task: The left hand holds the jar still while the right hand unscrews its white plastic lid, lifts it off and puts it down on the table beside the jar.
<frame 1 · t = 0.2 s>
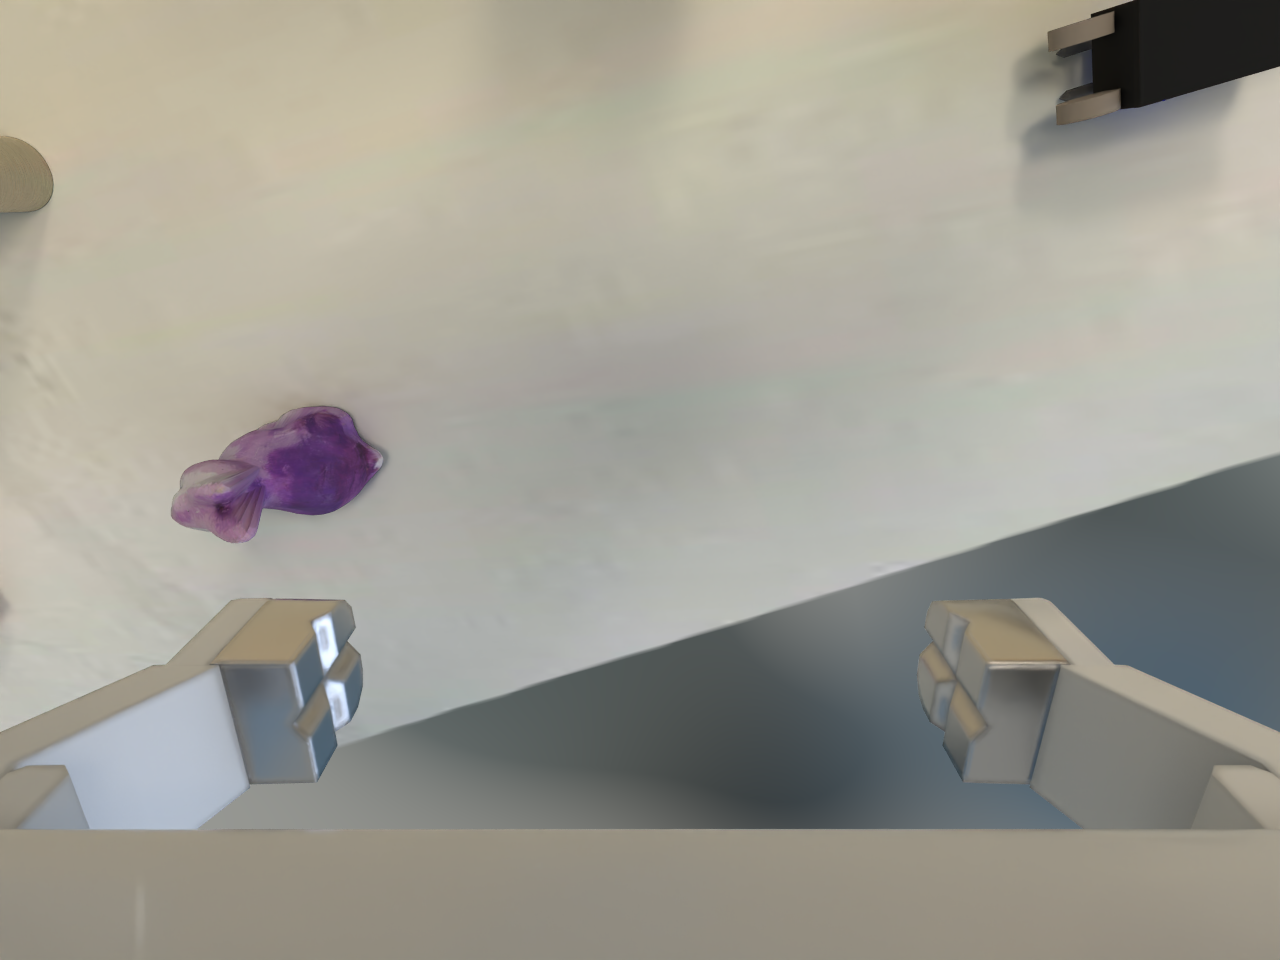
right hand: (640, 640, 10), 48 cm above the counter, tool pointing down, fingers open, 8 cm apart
figurine: (314, 453, 60), on the counter
figurine character: (1138, 52, 49), on the counter
jar: (17, 174, 52), on the counter
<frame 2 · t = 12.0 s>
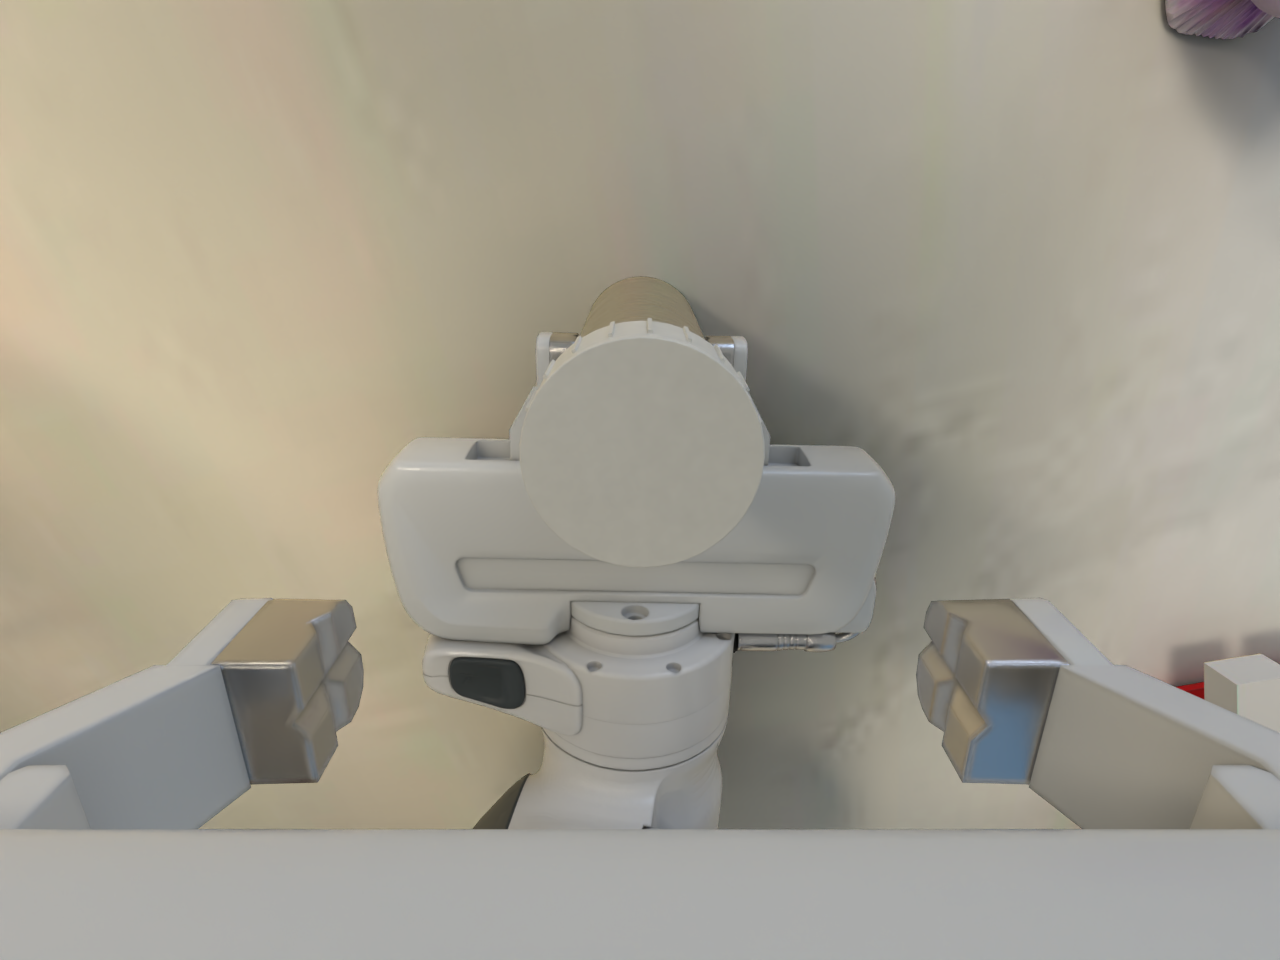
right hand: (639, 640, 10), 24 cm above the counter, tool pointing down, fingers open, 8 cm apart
left hand: (640, 336, 27), fingers closed on jar, 5 cm apart
jar: (641, 333, 33), on the counter, touching left hand
toy: (1199, 826, 44), on the counter
lid: (641, 454, 18), point 16 cm above the counter, screwed on, not yet turned
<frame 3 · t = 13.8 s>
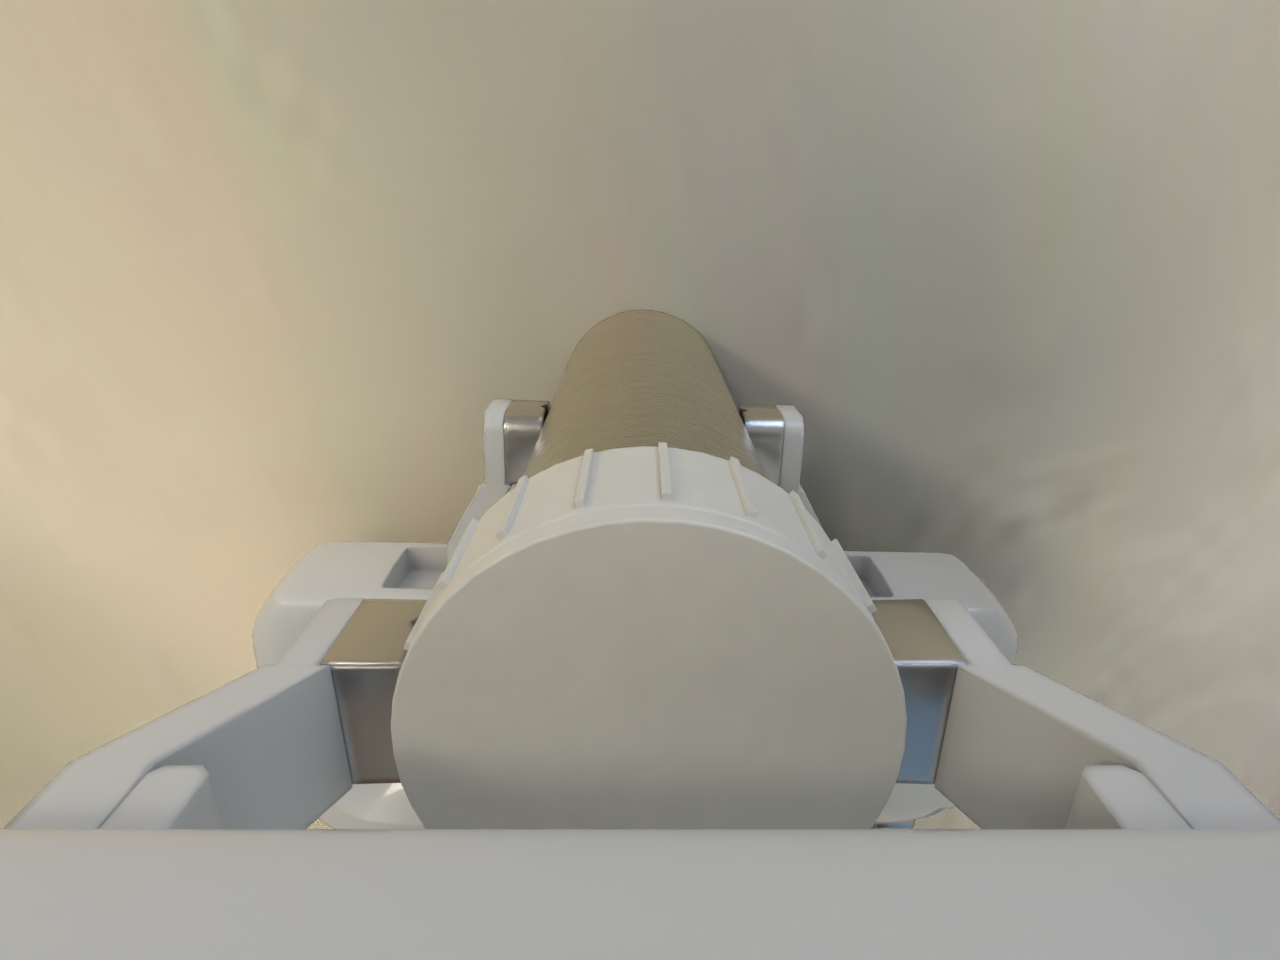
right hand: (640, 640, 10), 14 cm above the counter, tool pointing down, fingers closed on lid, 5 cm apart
jar: (642, 386, 24), on the counter, touching left hand
lid: (648, 731, 9), point 16 cm above the counter, screwed on, not yet turned, touching right hand
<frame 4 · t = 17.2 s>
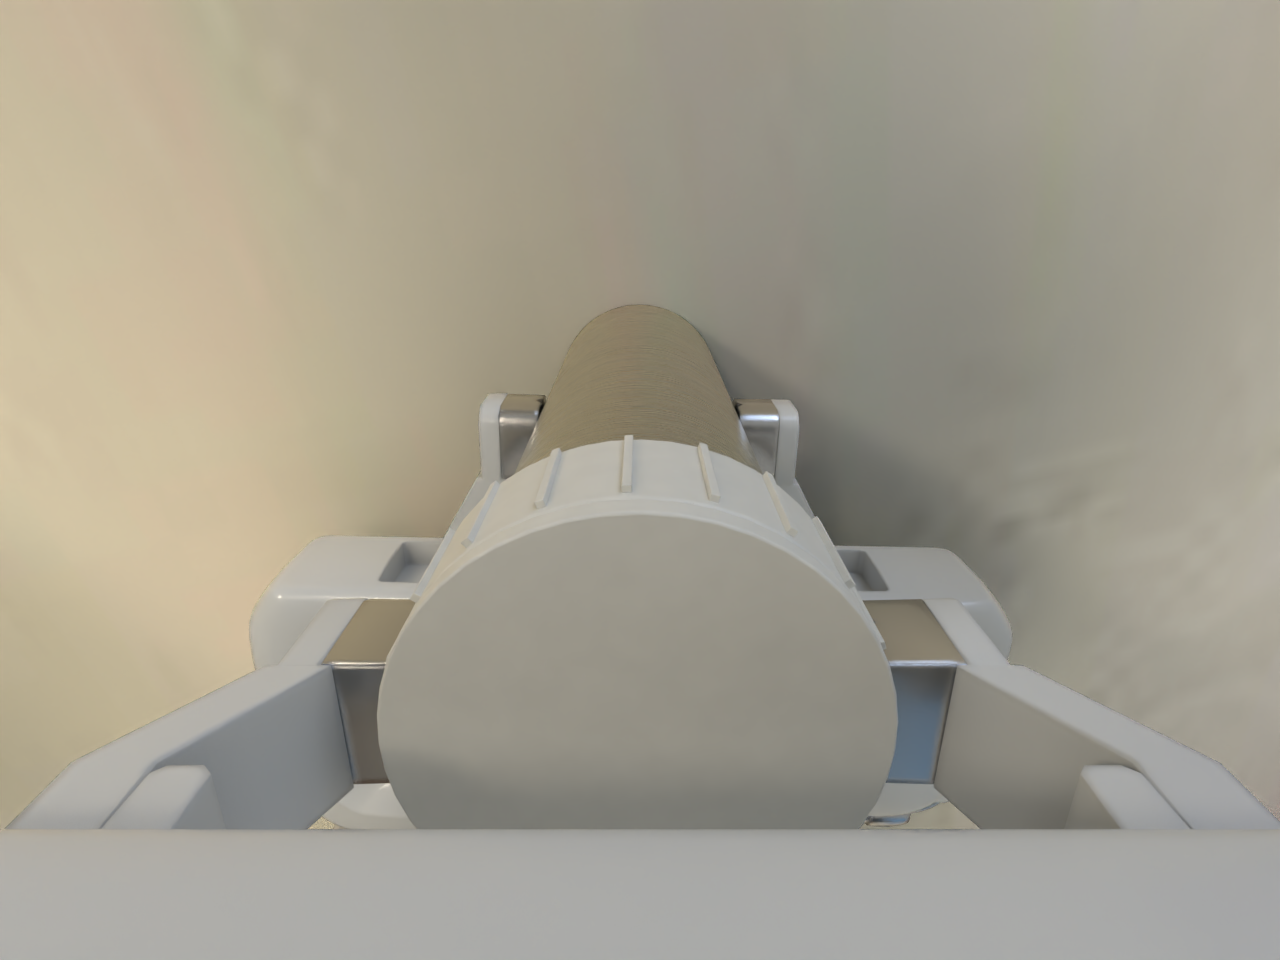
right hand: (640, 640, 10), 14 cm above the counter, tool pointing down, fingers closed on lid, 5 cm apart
jar: (639, 381, 24), on the counter, touching left hand
lid: (637, 726, 8), point 16 cm above the counter, turned 96° so far, risen 0.1 cm, still on its thread, touching right hand
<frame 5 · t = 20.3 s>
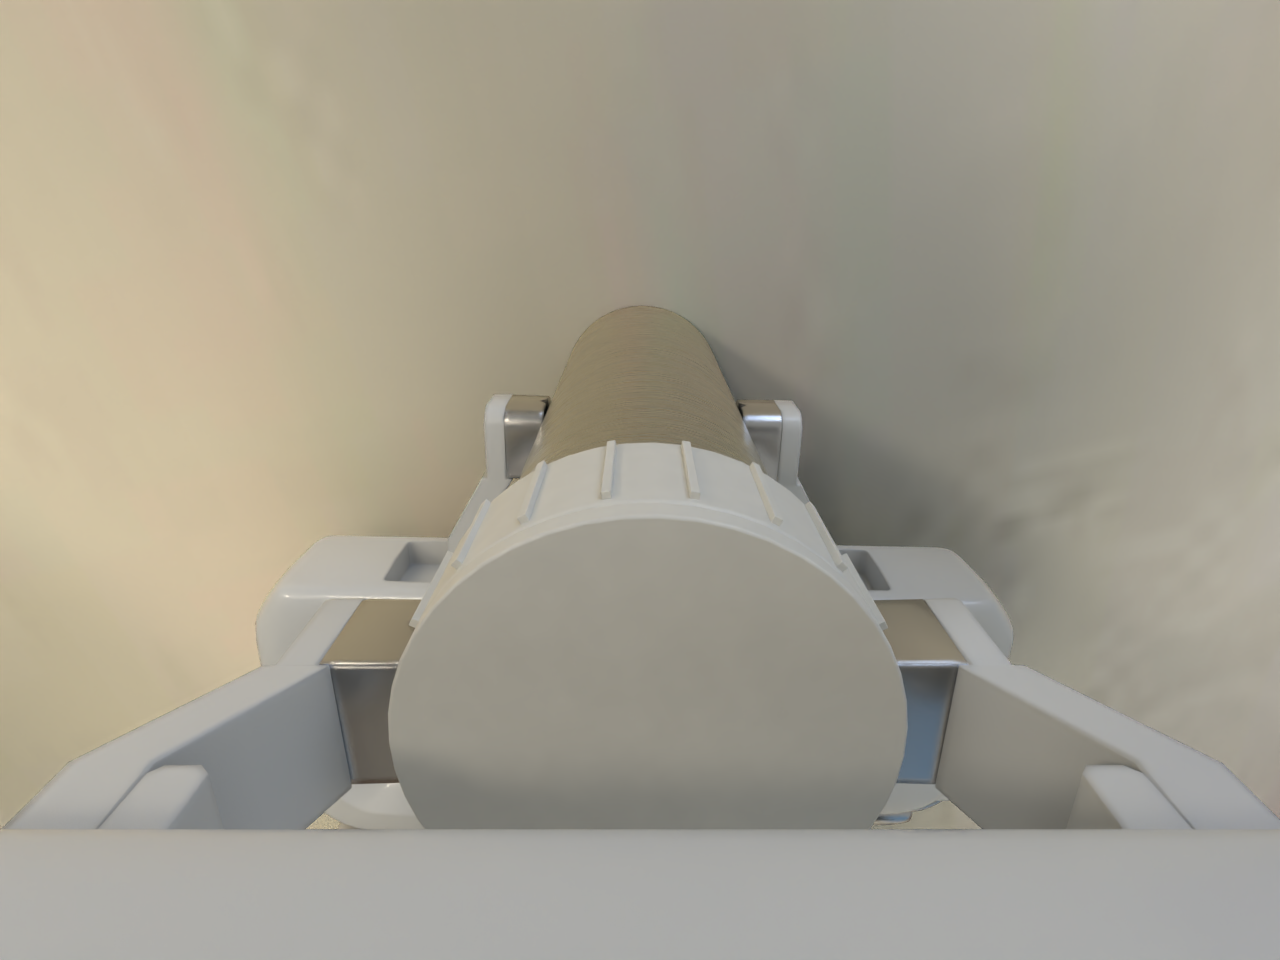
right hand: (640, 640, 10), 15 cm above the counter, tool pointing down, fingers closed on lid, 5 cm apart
jar: (641, 382, 24), on the counter, touching left hand
lid: (647, 729, 9), point 16 cm above the counter, turned 192° so far, risen 0.2 cm, still on its thread, touching right hand
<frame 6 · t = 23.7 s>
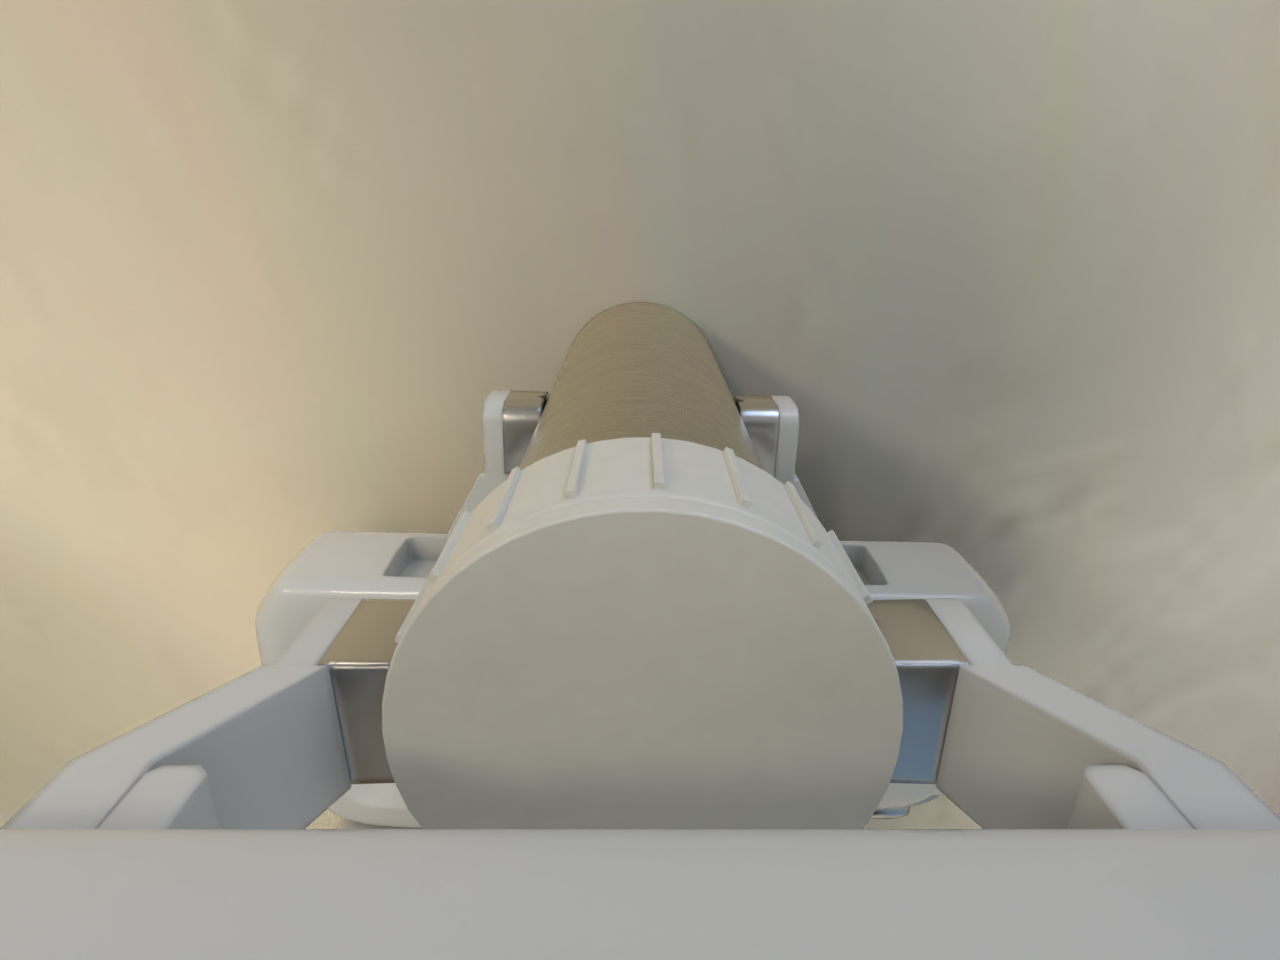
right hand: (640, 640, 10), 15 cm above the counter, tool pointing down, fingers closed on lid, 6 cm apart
jar: (640, 378, 24), on the counter, touching left hand
lid: (642, 724, 8), point 17 cm above the counter, turned 289° so far, risen 0.4 cm, still on its thread, touching right hand
when the right hand's fingers open (2 cm above the counter, at t = 30.4 s): lid drops 2 cm, point 2 cm above the counter.
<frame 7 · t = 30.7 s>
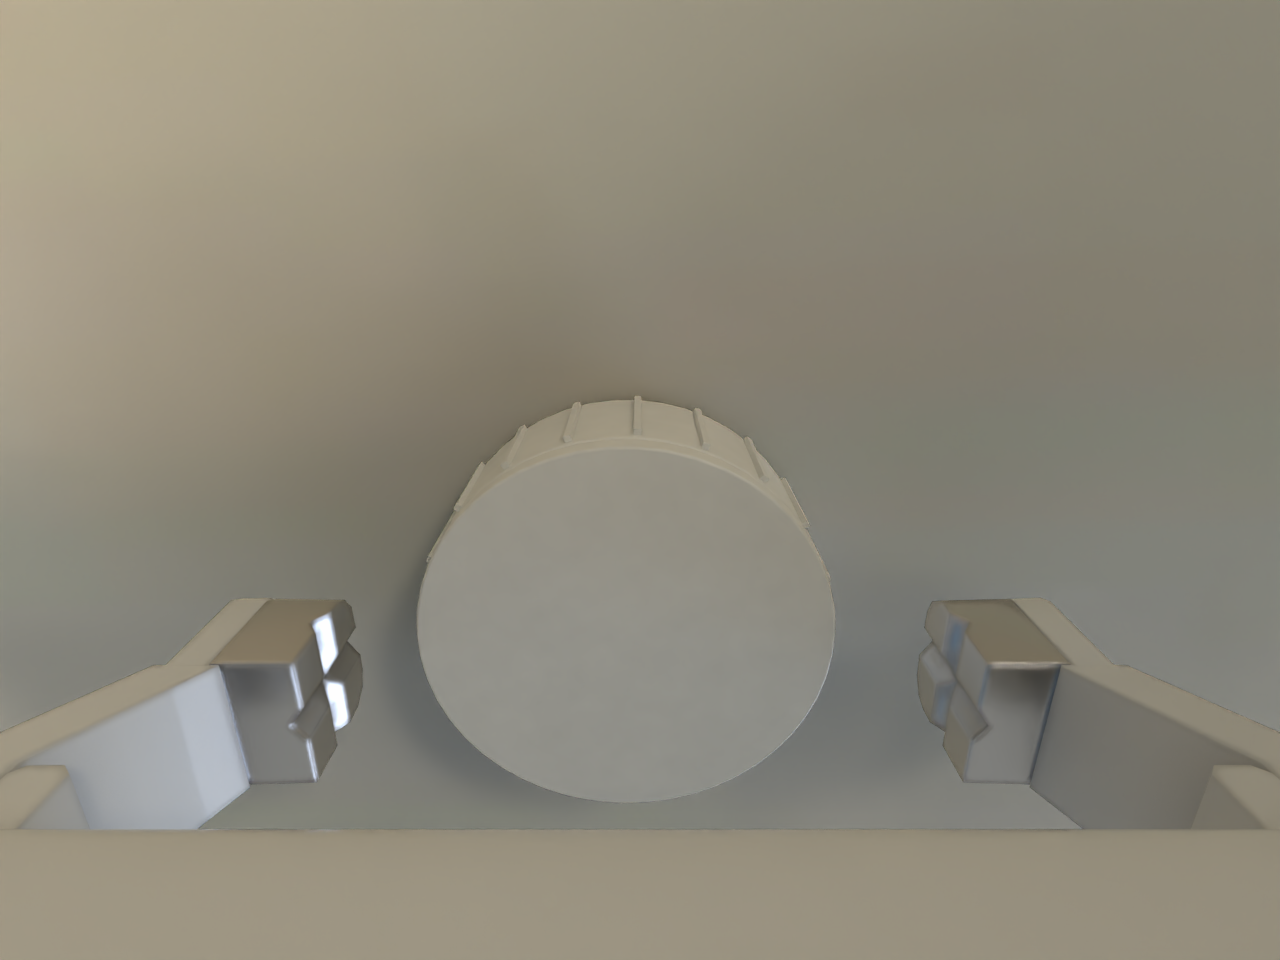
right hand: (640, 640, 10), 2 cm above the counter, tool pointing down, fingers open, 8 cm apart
lid: (626, 630, 10), point 2 cm above the counter, off its thread
when the left hand's fingers open (5 cm above the counter, at t = 31.4 s): jar stays where it is, on the counter.
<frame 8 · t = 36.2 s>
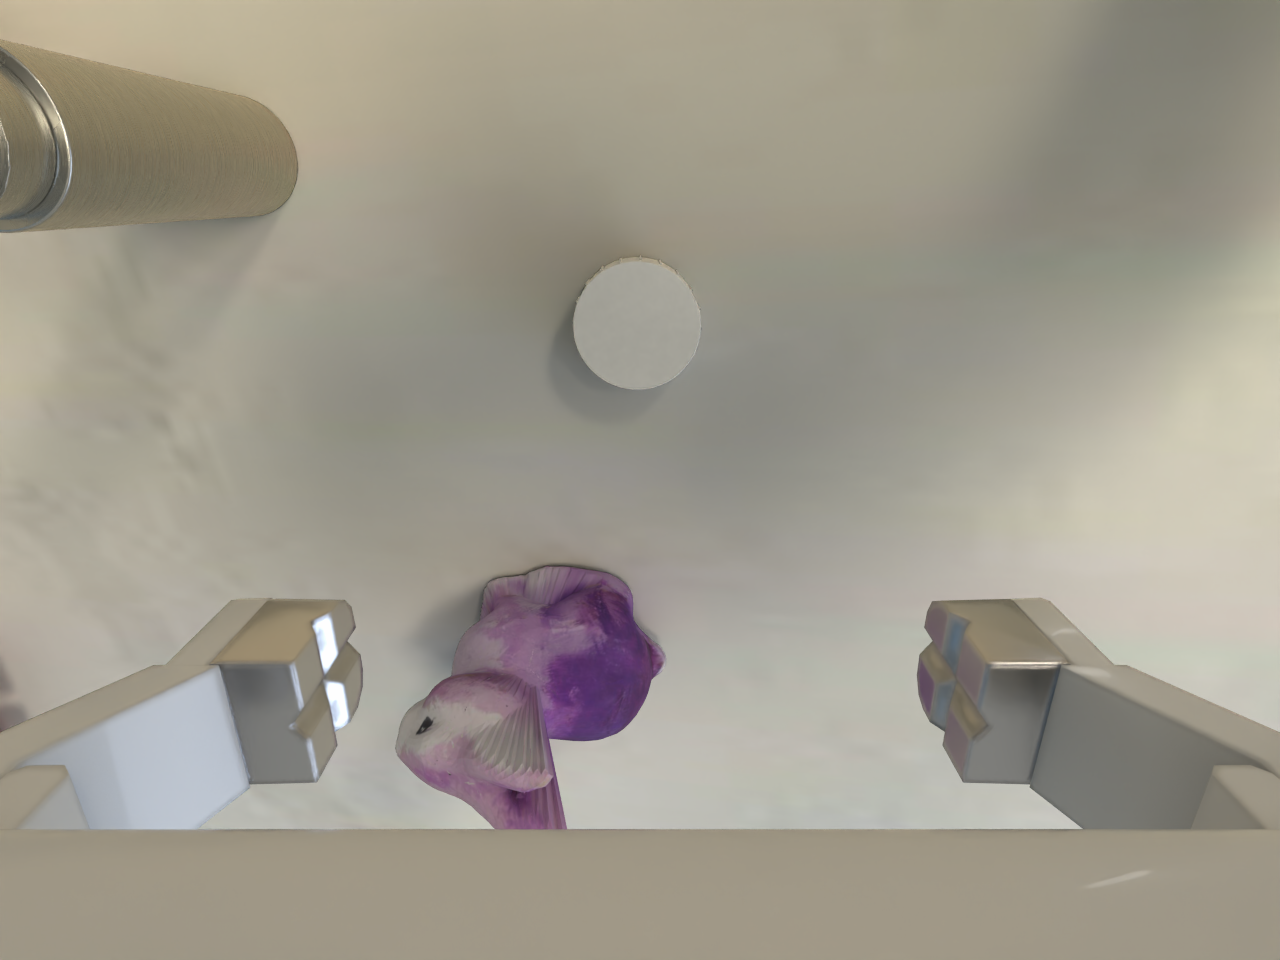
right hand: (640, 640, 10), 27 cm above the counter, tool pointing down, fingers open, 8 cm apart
figurine: (556, 623, 42), on the counter
jar: (242, 157, 33), on the counter
lid: (636, 326, 33), point 2 cm above the counter, off its thread
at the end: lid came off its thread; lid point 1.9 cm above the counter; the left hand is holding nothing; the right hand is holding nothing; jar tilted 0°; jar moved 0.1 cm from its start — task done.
